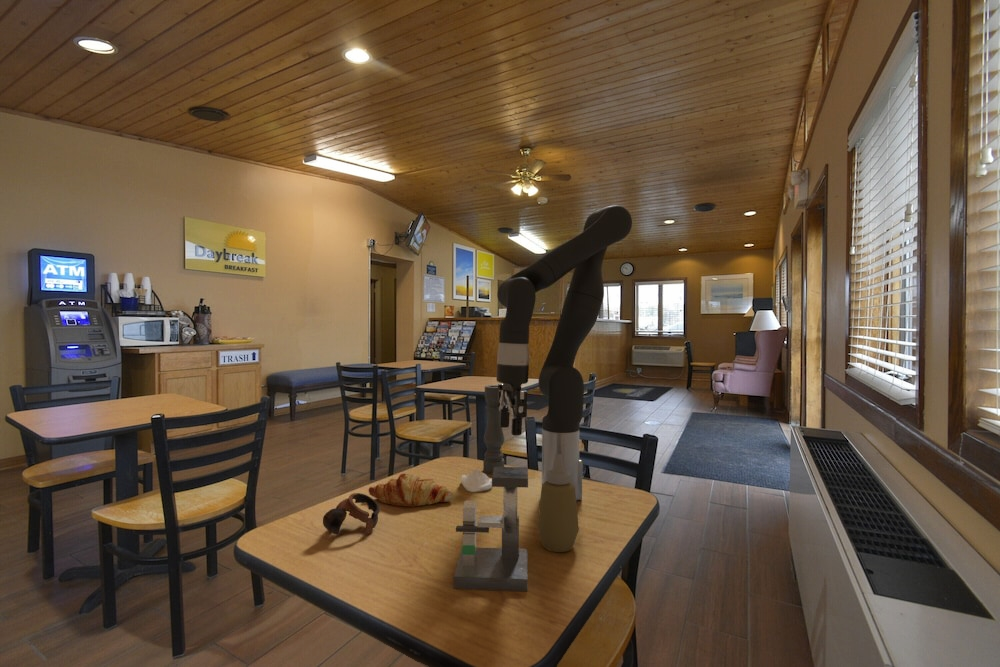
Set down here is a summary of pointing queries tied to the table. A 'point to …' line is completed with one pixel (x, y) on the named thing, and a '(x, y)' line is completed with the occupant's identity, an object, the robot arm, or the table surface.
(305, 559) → the table surface
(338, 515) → the brown headphones
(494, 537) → the table surface
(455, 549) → the table surface
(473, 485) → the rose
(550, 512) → the squeeze bottle
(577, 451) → the robot arm
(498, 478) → the dark grey blocky piece
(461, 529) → the peak pointer
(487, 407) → the candle holder
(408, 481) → the croissant
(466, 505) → the frame
